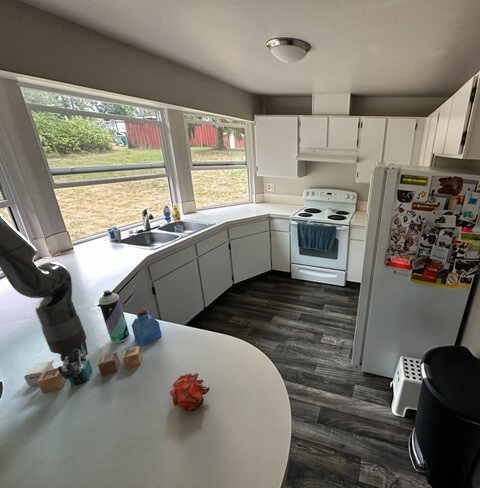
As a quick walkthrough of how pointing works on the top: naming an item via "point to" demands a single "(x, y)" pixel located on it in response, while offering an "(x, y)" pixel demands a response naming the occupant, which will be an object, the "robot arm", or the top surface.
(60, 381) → the block
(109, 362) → the block
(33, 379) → the usb wall charger
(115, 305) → the spray can
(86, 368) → the block
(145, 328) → the perfume bottle
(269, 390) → the top surface
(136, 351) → the block
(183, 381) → the dragon fruit
